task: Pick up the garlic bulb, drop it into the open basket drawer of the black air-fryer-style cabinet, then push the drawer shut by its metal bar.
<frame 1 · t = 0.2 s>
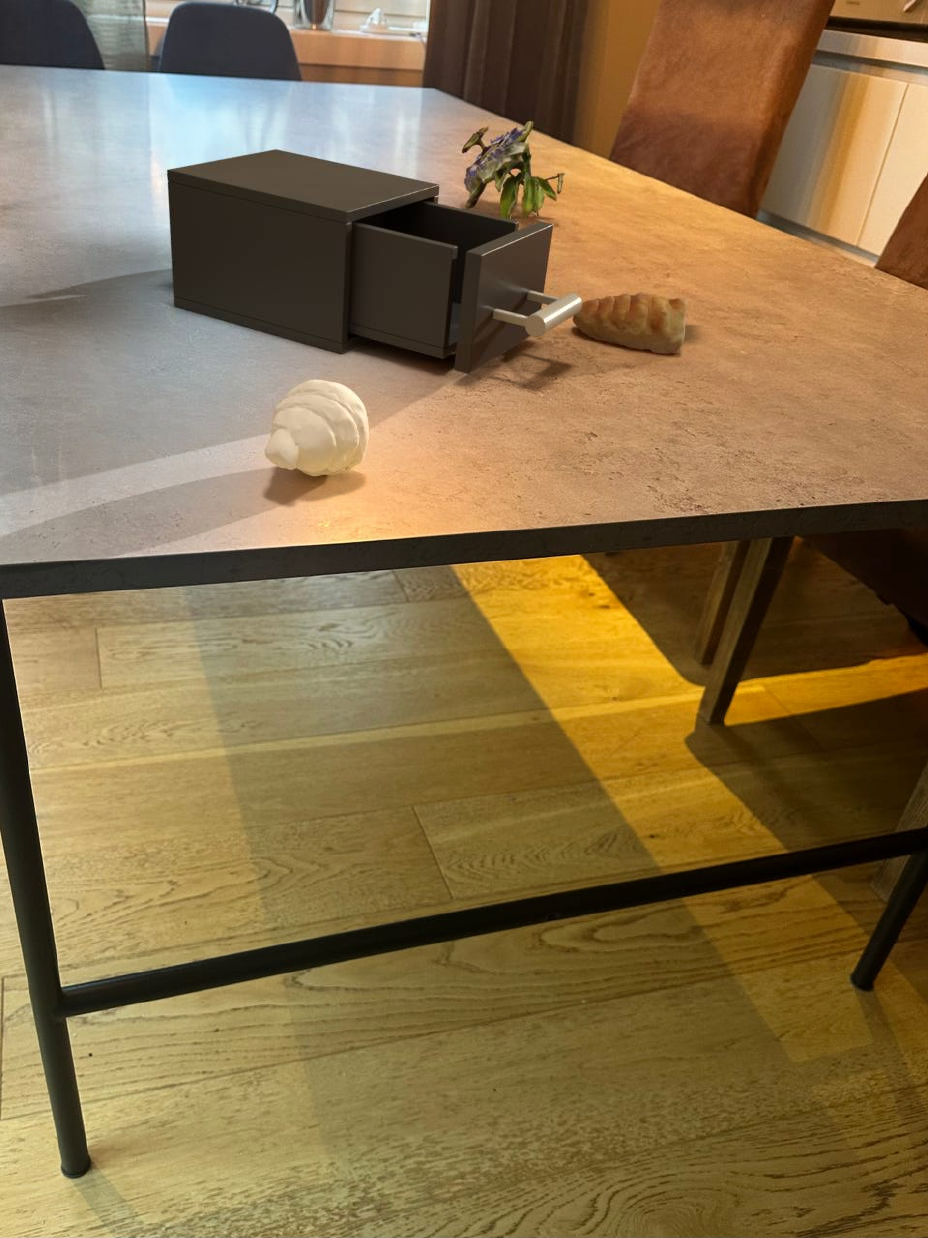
passion flower: (505, 215, 121), on the table
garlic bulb: (307, 484, 60), on the table
cabinet: (305, 308, 85), on the table
pastry: (634, 341, 87), on the table
drawer: (450, 281, 78), point 5 cm above the table, slide at 9.0 cm
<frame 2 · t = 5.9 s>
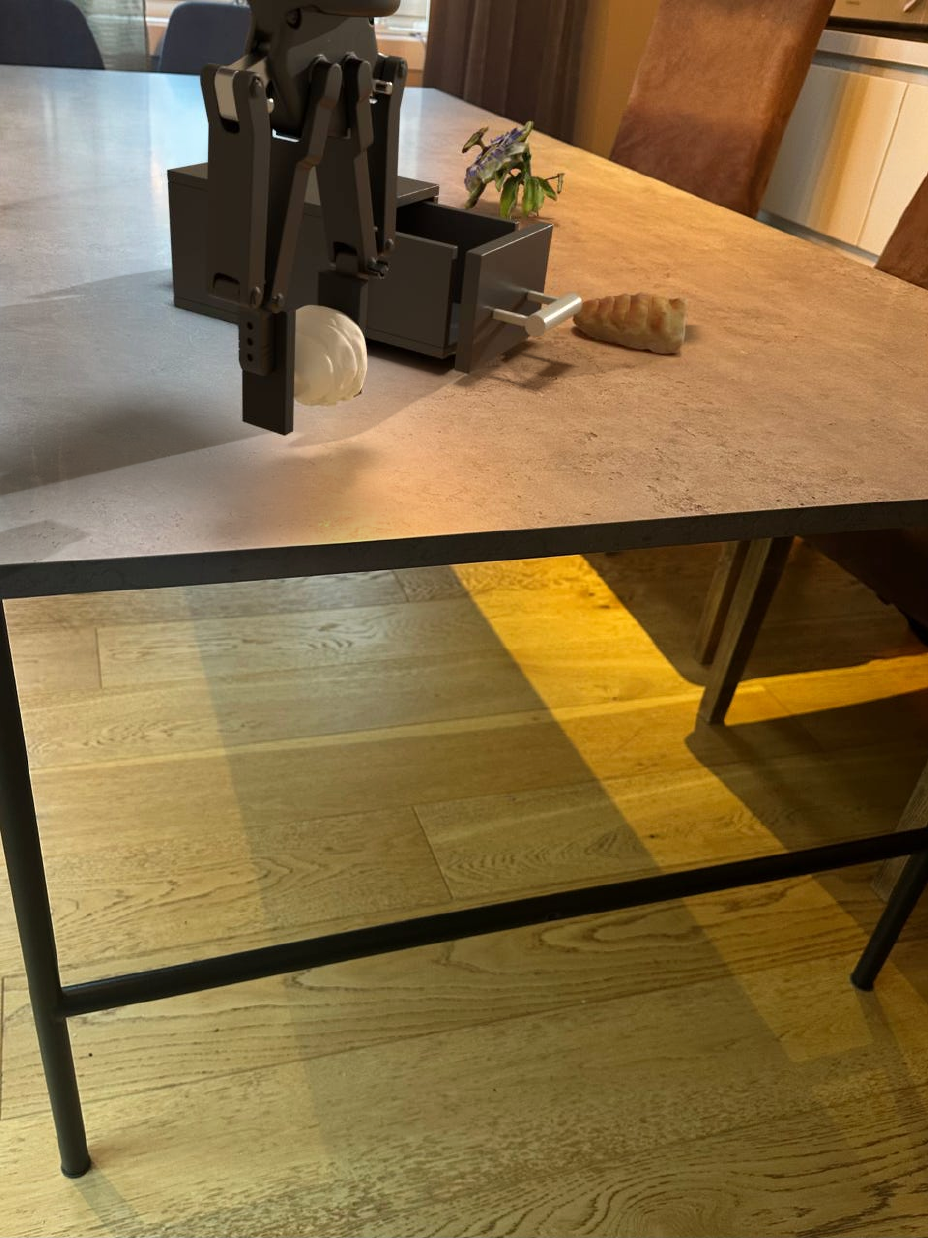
hand: (304, 406, 58), 4 cm above the table, tool pointing down, fingers closed on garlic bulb, 6 cm apart
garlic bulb: (303, 414, 58), point 4 cm above the table, touching gripper
everything else where it was.
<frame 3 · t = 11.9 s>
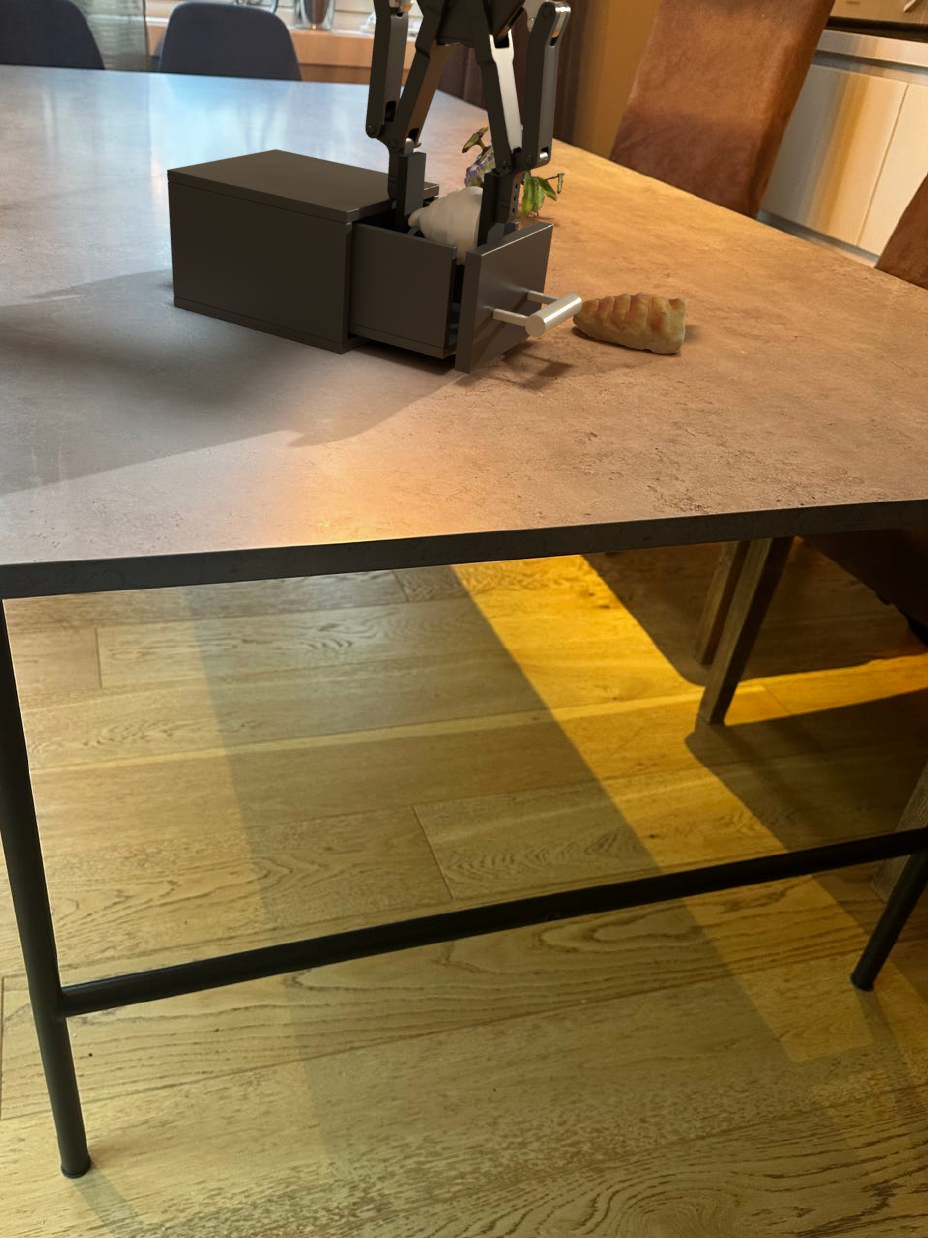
hand: (446, 256, 77), 7 cm above the table, tool pointing down, fingers closed on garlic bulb, 6 cm apart
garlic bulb: (445, 262, 78), point 6 cm above the table, touching gripper
everything else where it was.
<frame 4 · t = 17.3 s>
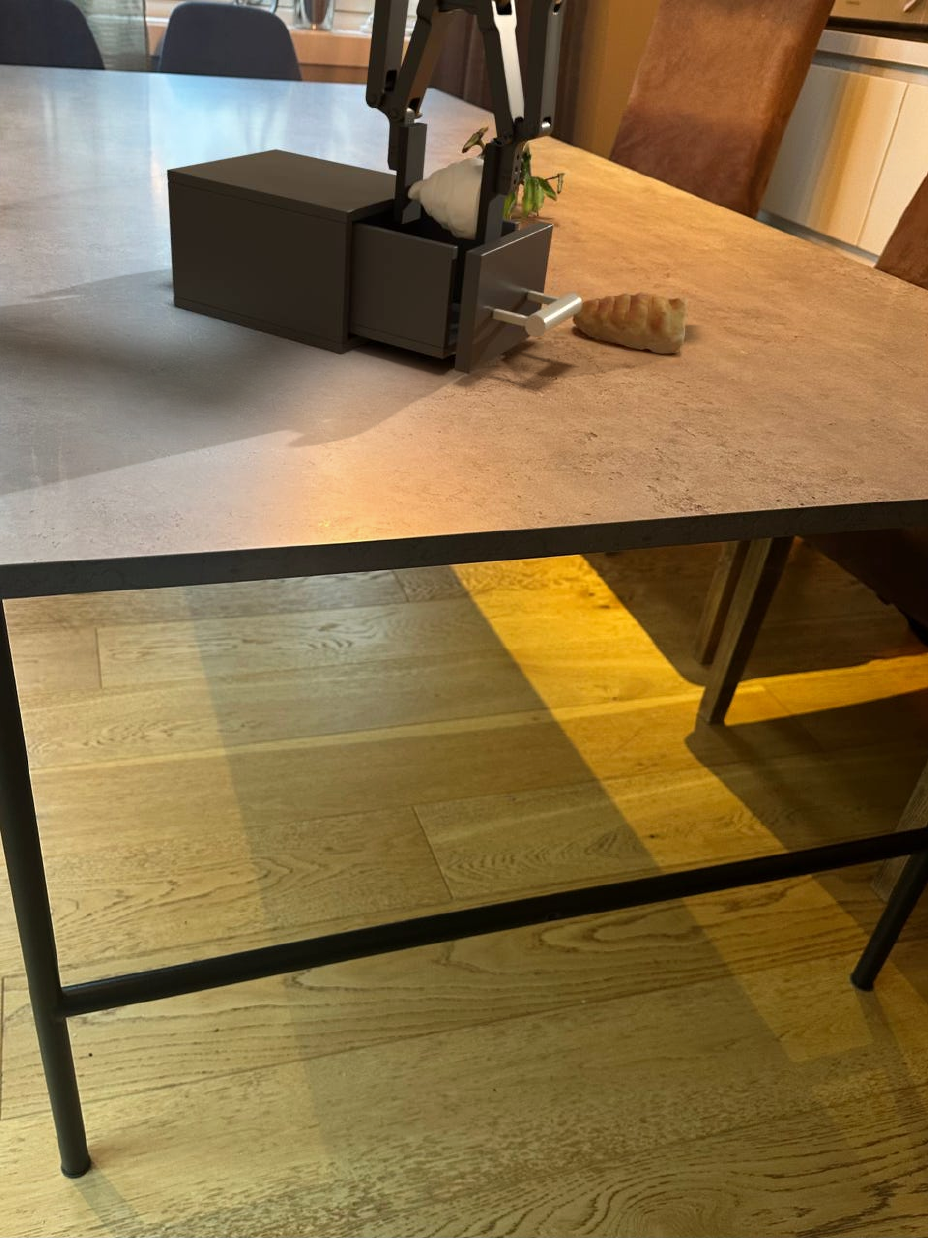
hand: (446, 229, 76), 9 cm above the table, tool pointing down, fingers closed on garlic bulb, 6 cm apart
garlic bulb: (445, 236, 77), point 8 cm above the table, touching gripper
everything else where it was.
when the fingers open (10 cm above the table, at t = 22.3 s): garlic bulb drops 6 cm, resting on drawer.
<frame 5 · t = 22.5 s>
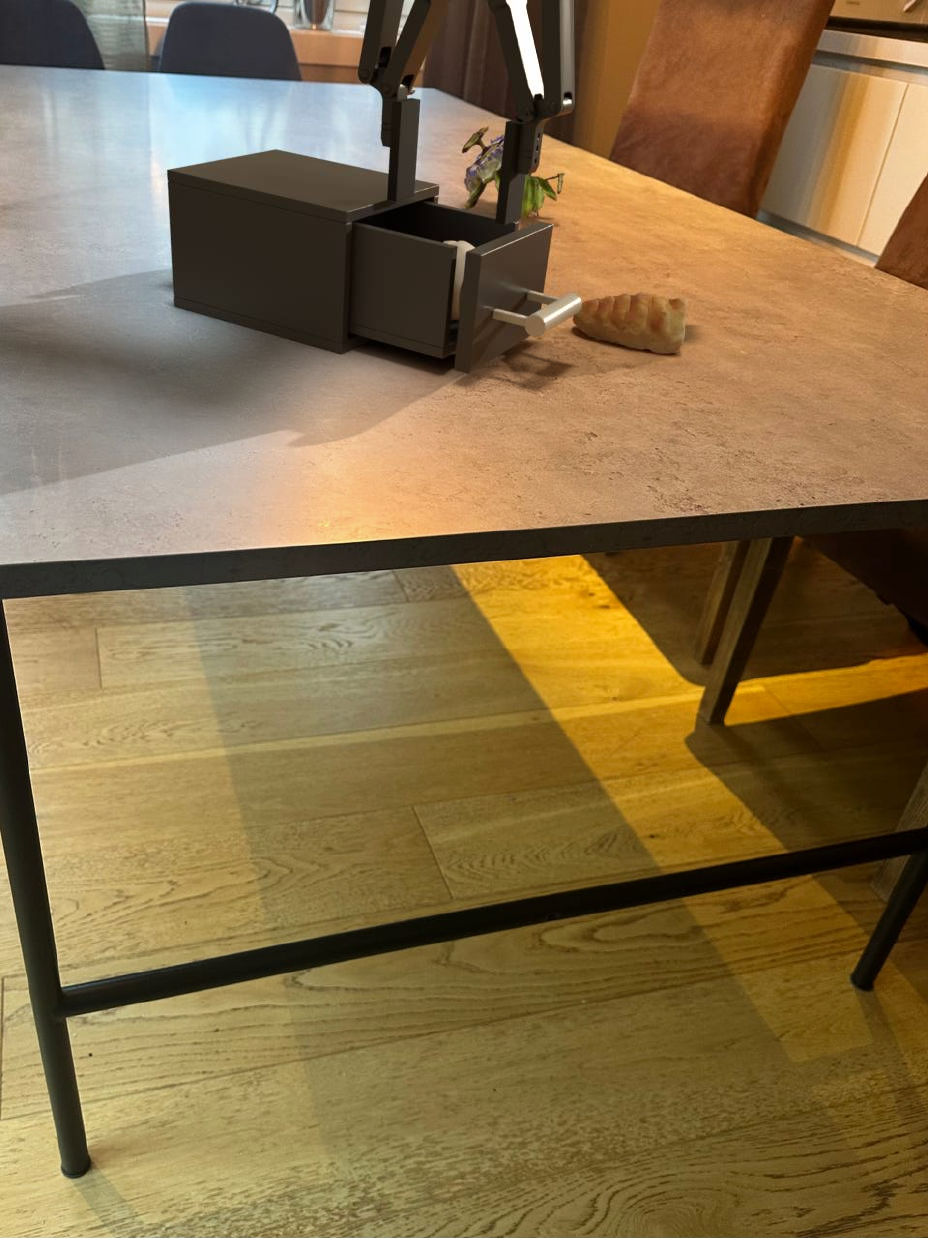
hand: (453, 208, 75), 10 cm above the table, tool pointing down, fingers open, 8 cm apart
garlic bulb: (440, 299, 79), point 4 cm above the table, touching drawer
drawer: (450, 281, 78), point 5 cm above the table, slide at 9.0 cm, touching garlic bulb
everything else where it was.
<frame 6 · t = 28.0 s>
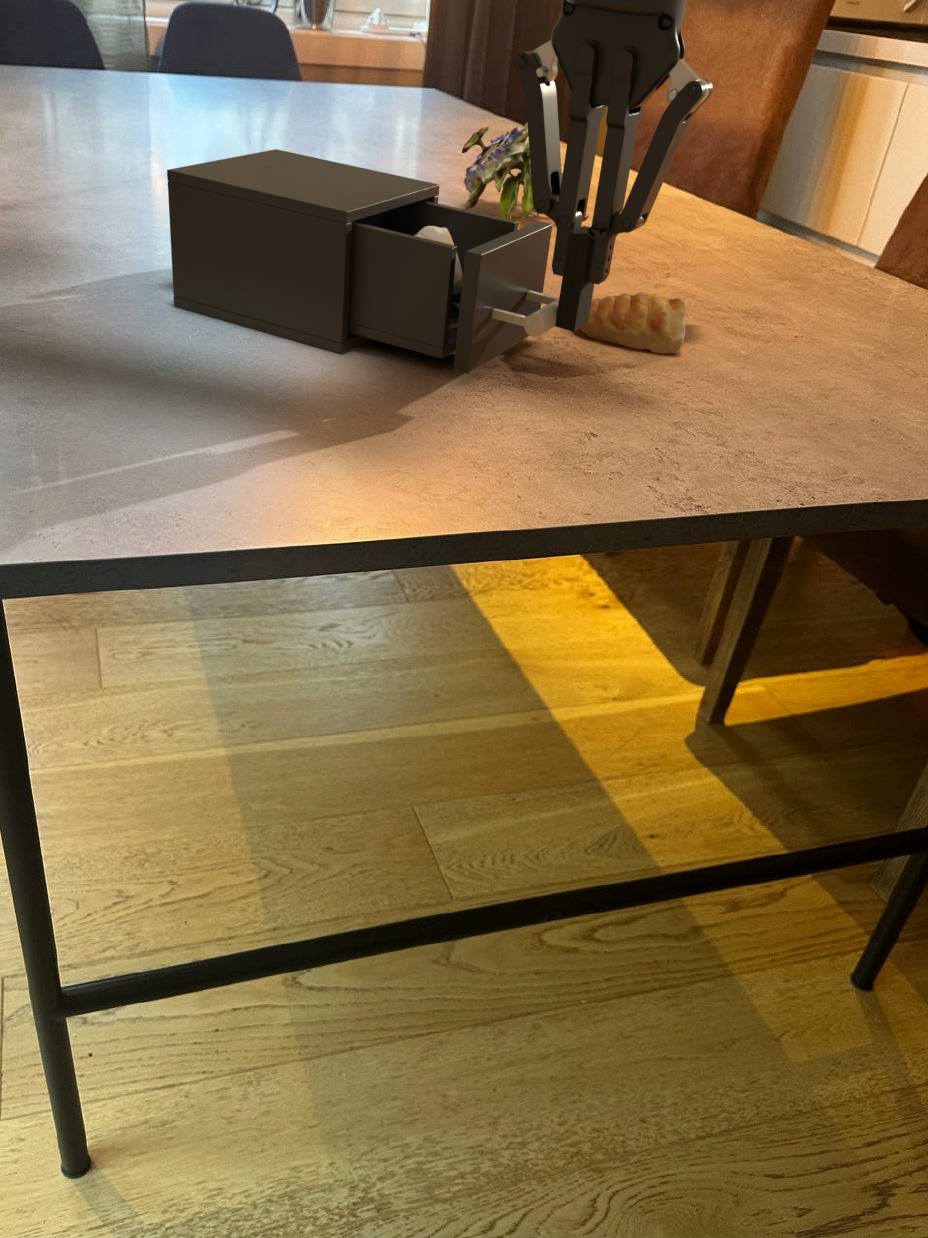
hand: (571, 324, 75), 4 cm above the table, tool pointing down, fingers closed
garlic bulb: (429, 306, 81), point 3 cm above the table, touching drawer
drawer: (449, 280, 78), point 5 cm above the table, slide at 8.9 cm, touching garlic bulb, gripper
everything else where it was.
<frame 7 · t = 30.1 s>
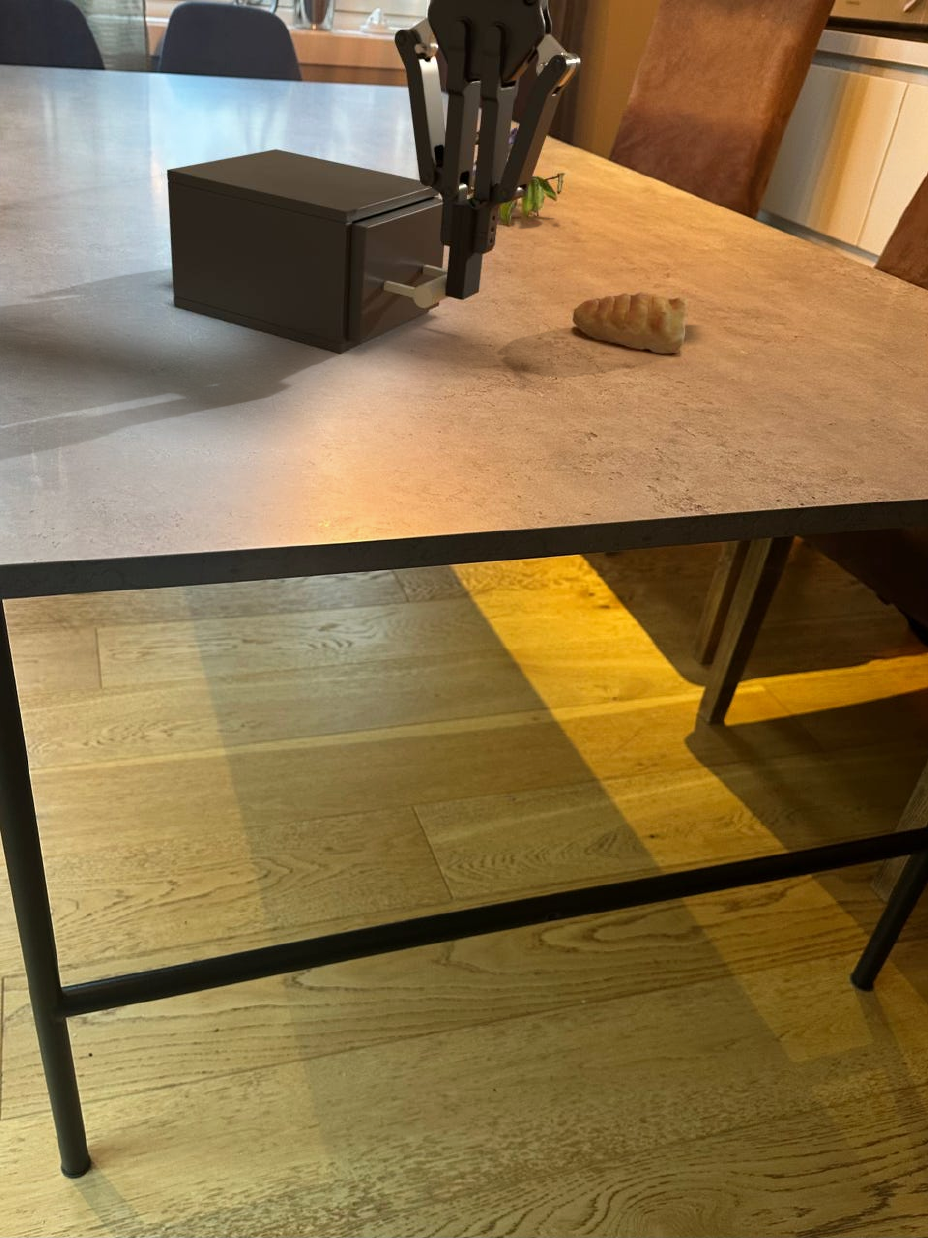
hand: (462, 293, 78), 4 cm above the table, tool pointing down, fingers closed
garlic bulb: (331, 280, 83), point 3 cm above the table, touching drawer
drawer: (348, 255, 81), point 5 cm above the table, slide at 0.0 cm, touching cabinet, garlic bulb, gripper
everything else where it was.
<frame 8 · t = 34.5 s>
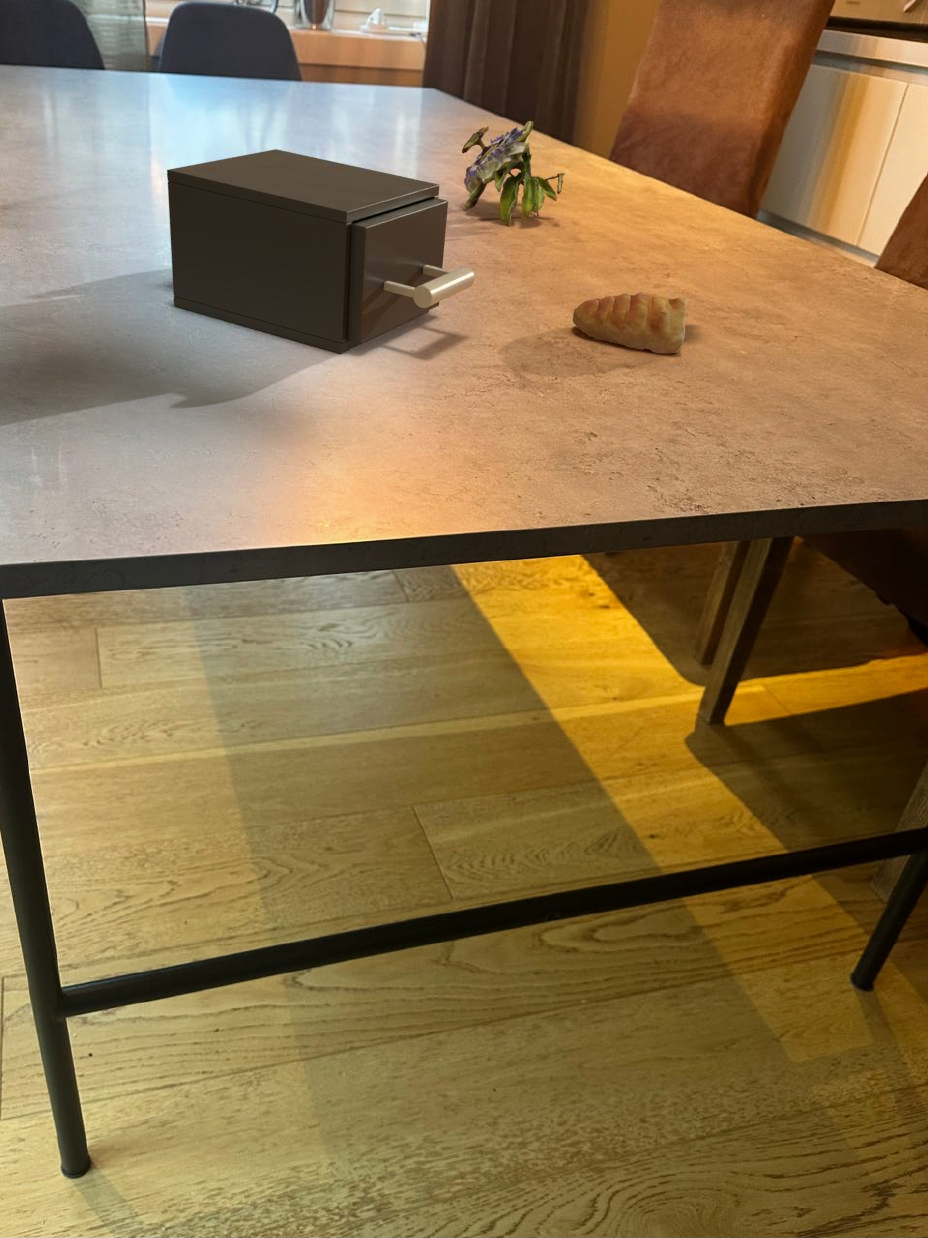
drawer: (348, 255, 81), point 5 cm above the table, slide at 0.0 cm, touching cabinet, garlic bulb
everything else where it was.
at the end: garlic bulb inside the target area in the cabinet (2.2 cm from its centre), point 2.6 cm above the cabinet's base; drawer slide at 0.0 cm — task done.
